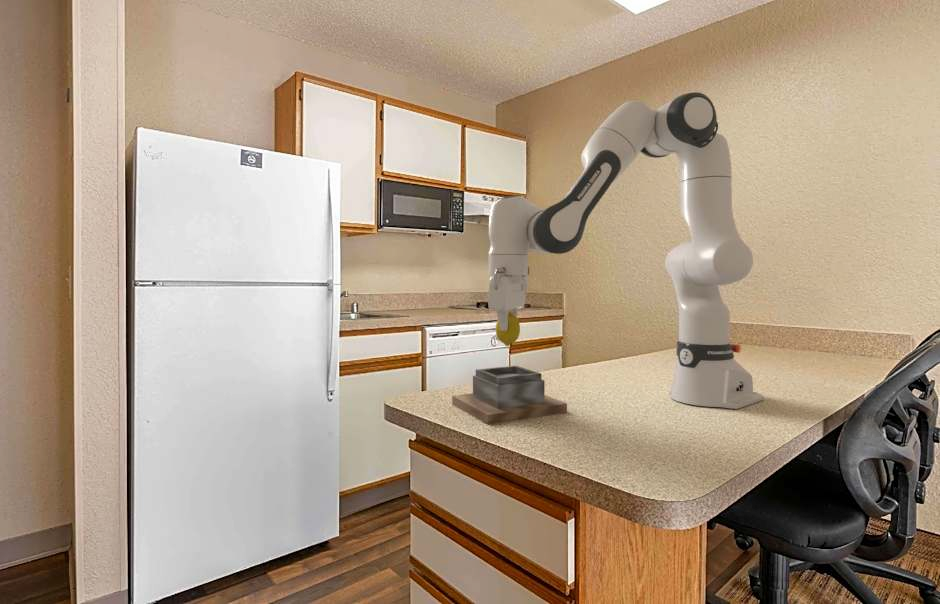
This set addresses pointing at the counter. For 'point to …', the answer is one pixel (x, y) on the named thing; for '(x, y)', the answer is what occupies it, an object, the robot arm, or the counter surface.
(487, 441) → the counter surface
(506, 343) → the lemon
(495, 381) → the plinth
